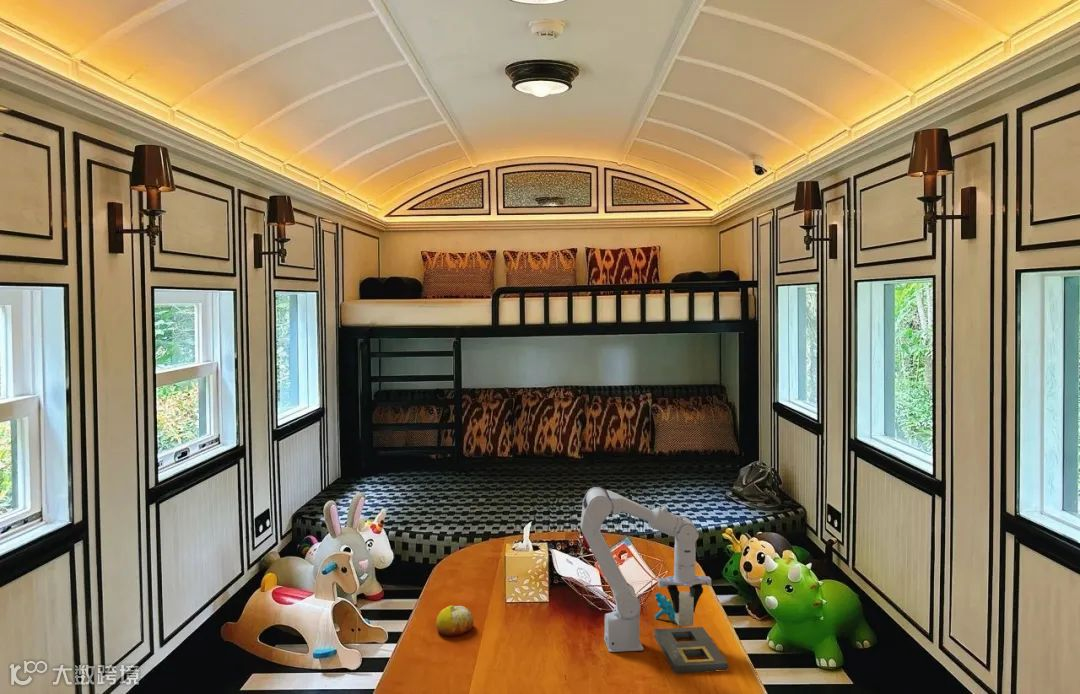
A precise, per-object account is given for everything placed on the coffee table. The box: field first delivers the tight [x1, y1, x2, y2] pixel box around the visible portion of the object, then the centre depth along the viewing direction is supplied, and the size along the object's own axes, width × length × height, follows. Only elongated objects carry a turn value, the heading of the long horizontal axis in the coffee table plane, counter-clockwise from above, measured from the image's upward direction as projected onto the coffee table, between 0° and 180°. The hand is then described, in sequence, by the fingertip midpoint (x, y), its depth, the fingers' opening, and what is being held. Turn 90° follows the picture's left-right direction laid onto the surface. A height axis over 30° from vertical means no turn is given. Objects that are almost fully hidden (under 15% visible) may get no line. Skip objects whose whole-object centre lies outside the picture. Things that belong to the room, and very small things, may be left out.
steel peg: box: [675, 590, 694, 627], centre depth 193 cm, size 4×4×8 cm
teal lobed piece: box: [654, 592, 677, 624], centre depth 208 cm, size 11×6×10 cm
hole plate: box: [653, 626, 729, 675], centre depth 188 cm, size 14×20×2 cm
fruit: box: [435, 604, 474, 637], centre depth 202 cm, size 11×10×8 cm
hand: (684, 611), depth 193 cm, fingers closed on steel peg, 4 cm apart
